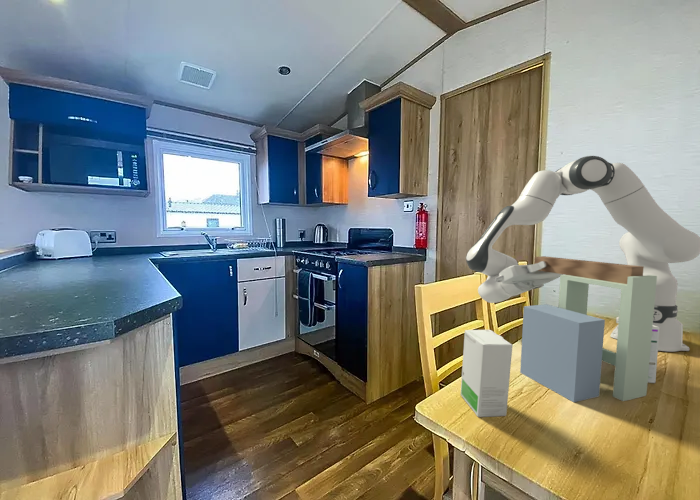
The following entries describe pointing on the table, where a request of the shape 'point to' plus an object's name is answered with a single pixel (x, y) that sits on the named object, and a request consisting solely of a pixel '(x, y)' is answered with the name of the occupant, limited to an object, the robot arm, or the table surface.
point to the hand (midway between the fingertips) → (553, 263)
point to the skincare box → (486, 372)
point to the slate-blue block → (562, 350)
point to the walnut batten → (591, 269)
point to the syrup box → (653, 355)
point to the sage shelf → (621, 328)
